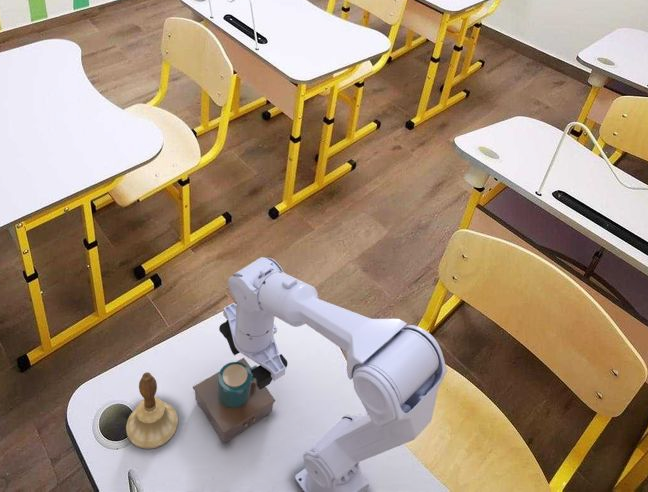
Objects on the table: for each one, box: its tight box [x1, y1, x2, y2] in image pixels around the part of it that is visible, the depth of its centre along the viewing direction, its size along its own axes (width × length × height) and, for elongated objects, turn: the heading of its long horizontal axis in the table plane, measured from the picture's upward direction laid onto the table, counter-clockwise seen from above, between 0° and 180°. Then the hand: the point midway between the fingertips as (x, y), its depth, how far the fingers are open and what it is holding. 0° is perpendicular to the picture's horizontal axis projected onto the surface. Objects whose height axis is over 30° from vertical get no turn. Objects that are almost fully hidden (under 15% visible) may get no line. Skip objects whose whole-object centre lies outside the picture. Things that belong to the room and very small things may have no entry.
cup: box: [218, 361, 258, 408], centre depth 97 cm, size 5×7×6 cm
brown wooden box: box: [192, 357, 276, 444], centre depth 100 cm, size 10×10×5 cm
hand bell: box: [125, 371, 179, 450], centre depth 92 cm, size 8×8×16 cm
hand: (251, 367), depth 97 cm, fingers open, 7 cm apart
